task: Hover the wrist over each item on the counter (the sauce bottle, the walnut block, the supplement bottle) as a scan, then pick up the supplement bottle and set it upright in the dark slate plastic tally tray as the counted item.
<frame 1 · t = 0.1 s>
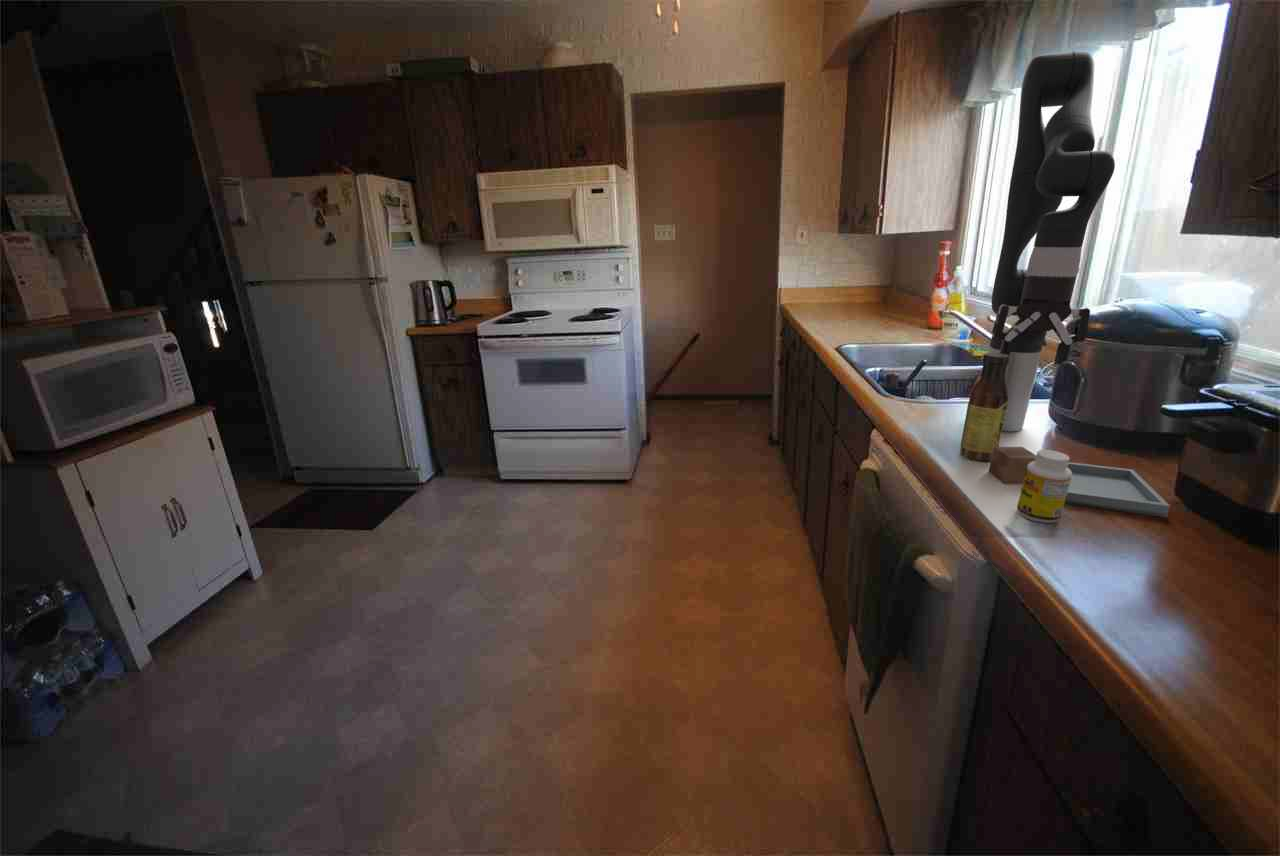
hand: (1031, 362, 106), 17 cm above the table, tool pointing down, fingers open, 8 cm apart
sauce bottle: (976, 456, 108), on the table
supplement bottle: (1036, 516, 86), on the table
walnut block: (1010, 478, 99), on the table
tally tray: (1094, 490, 93), on the table
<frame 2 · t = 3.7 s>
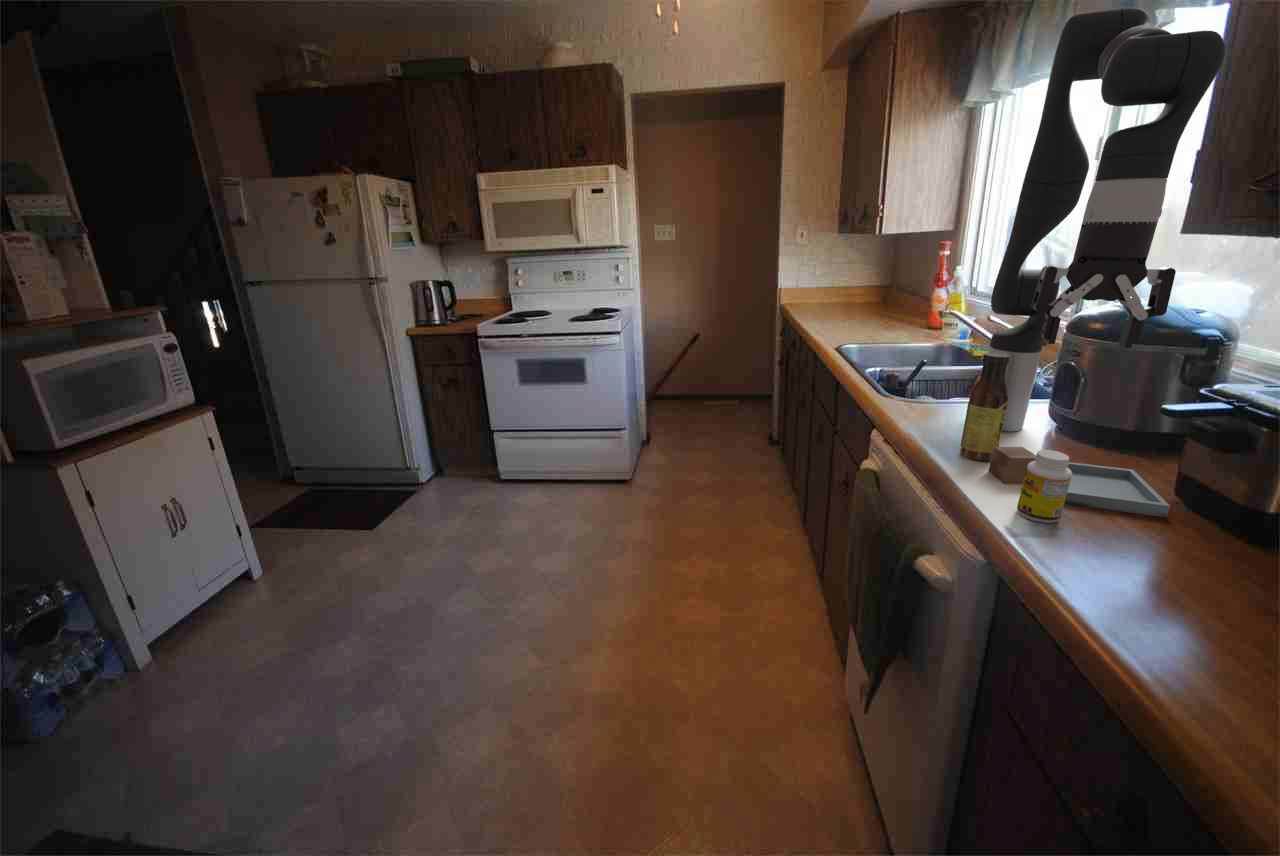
hand: (1085, 345, 77), 27 cm above the table, tool pointing down, fingers open, 8 cm apart
nothing on the table moved.
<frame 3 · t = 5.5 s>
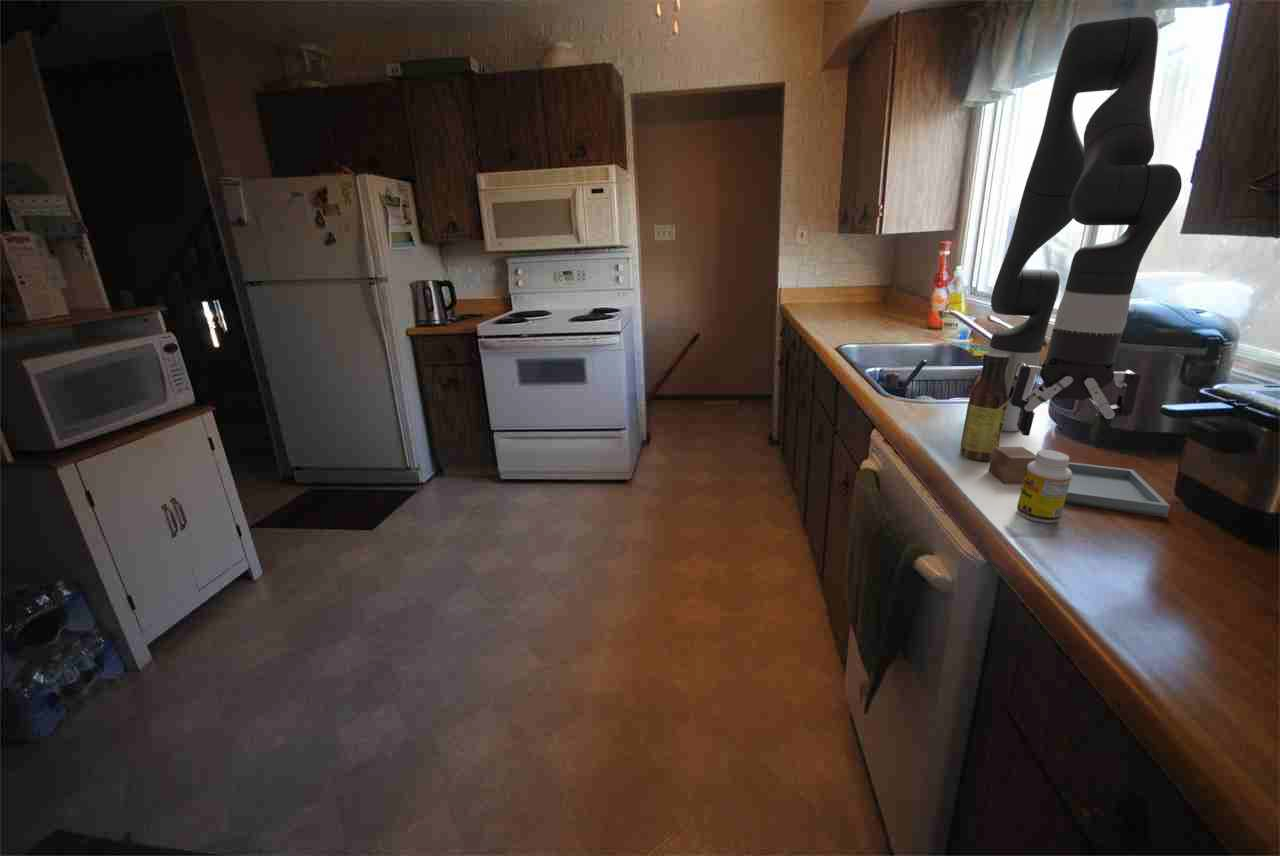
hand: (1058, 437, 81), 13 cm above the table, tool pointing down, fingers open, 8 cm apart
nothing on the table moved.
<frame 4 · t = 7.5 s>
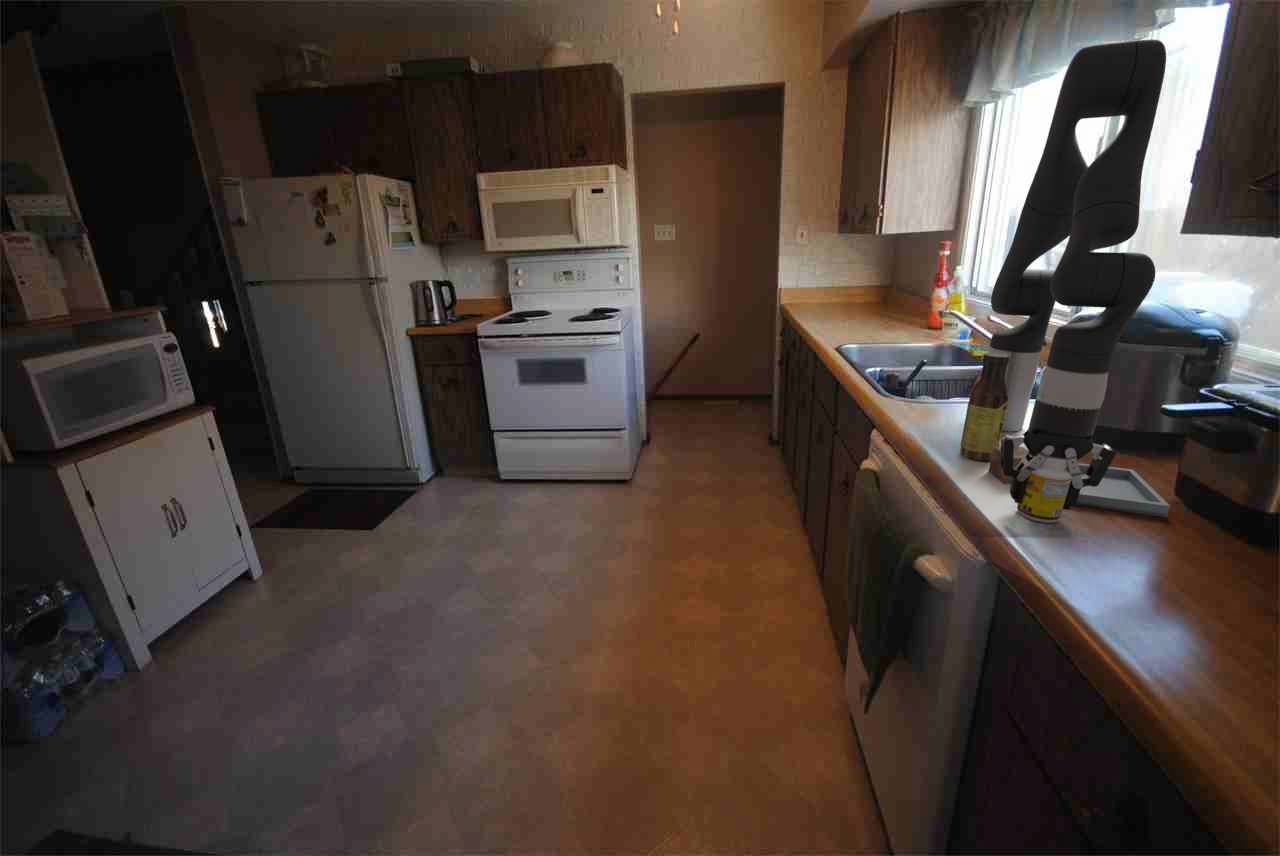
hand: (1040, 503, 85), 2 cm above the table, tool pointing down, fingers closed on supplement bottle, 5 cm apart
supplement bottle: (1036, 516, 86), on the table, touching gripper
everything else where it was.
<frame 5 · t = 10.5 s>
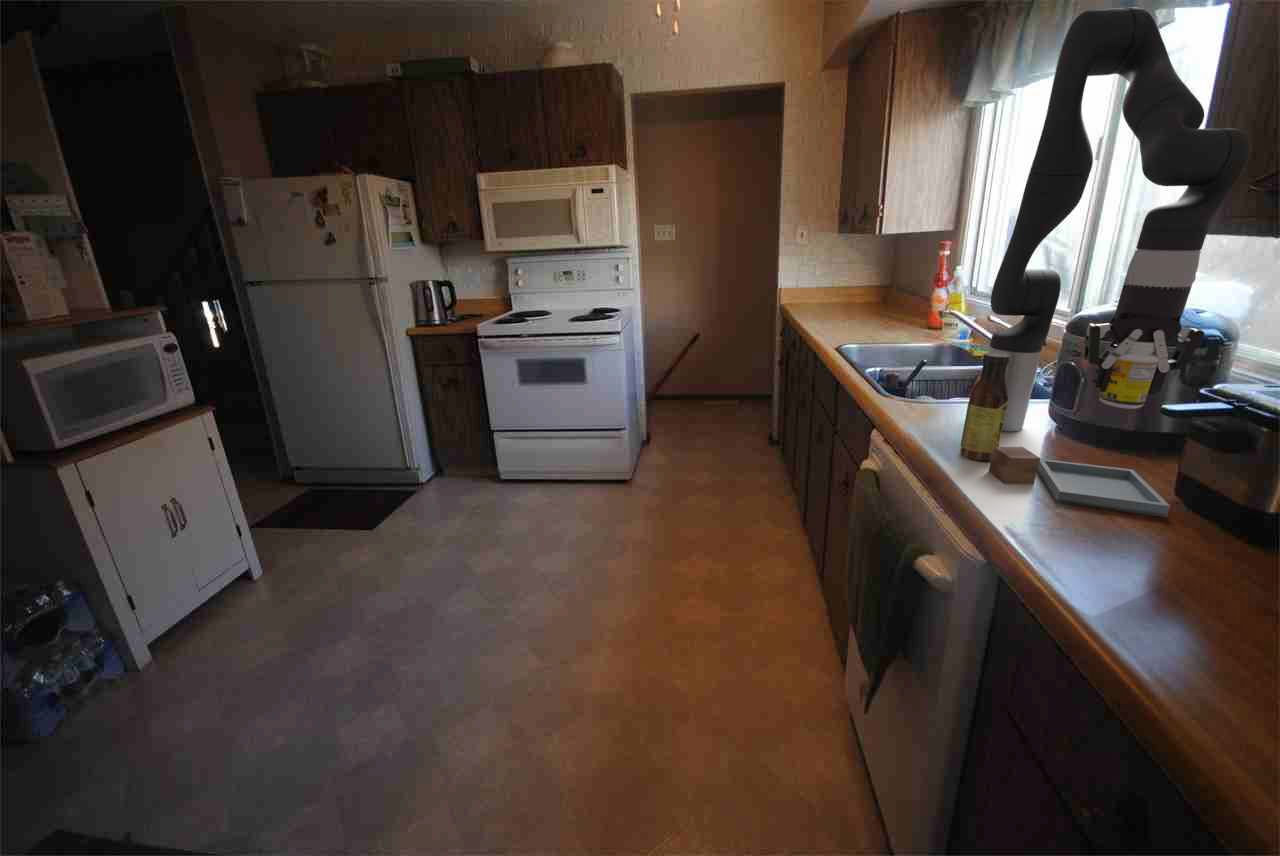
hand: (1123, 391, 88), 17 cm above the table, tool pointing down, fingers closed on supplement bottle, 5 cm apart
supplement bottle: (1119, 405, 88), point 15 cm above the table, touching gripper
everything else where it was.
when the fingers open (4 cm above the table, at t = 13.9 s): supplement bottle drops 1 cm, resting on tally tray.
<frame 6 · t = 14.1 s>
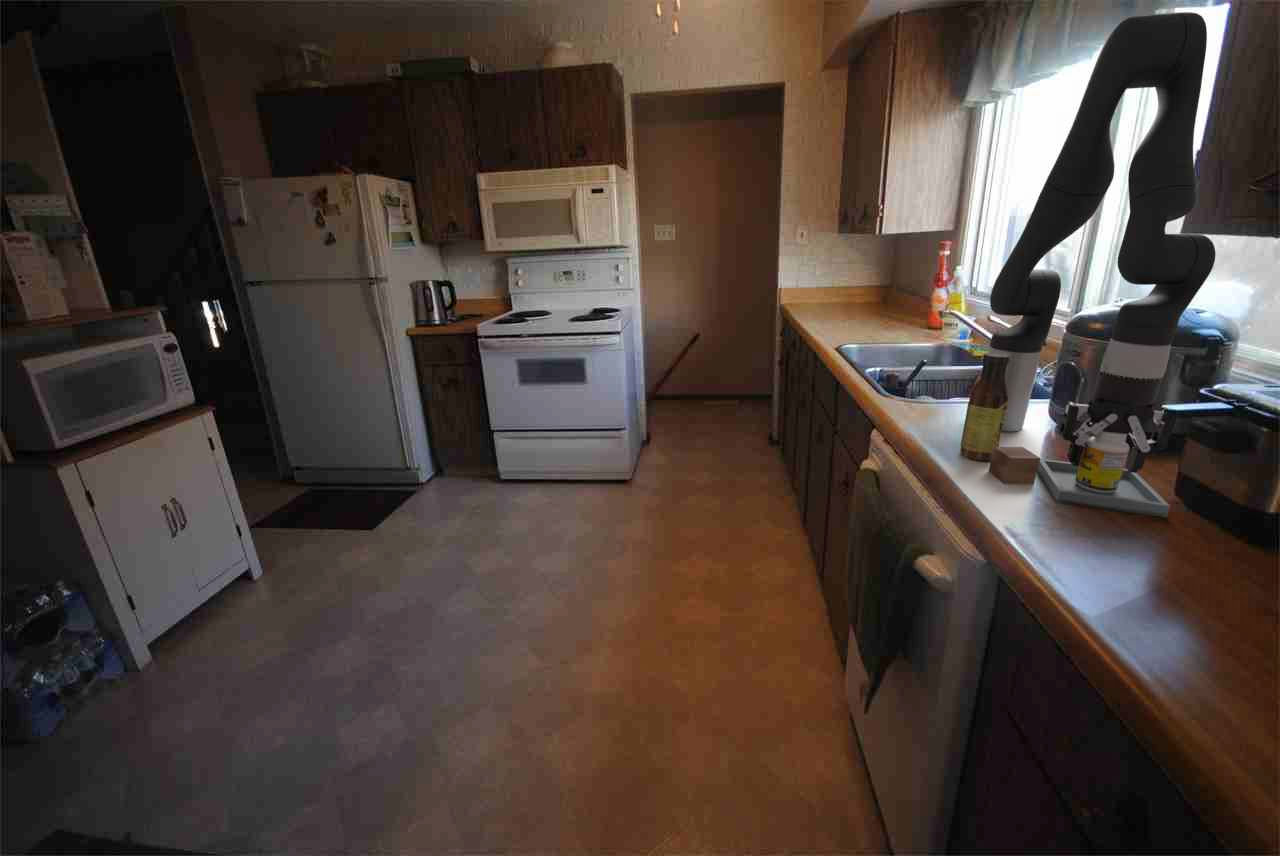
hand: (1101, 467, 92), 4 cm above the table, tool pointing down, fingers open, 7 cm apart
supplement bottle: (1094, 488, 93), resting on tally tray
everything else where it was.
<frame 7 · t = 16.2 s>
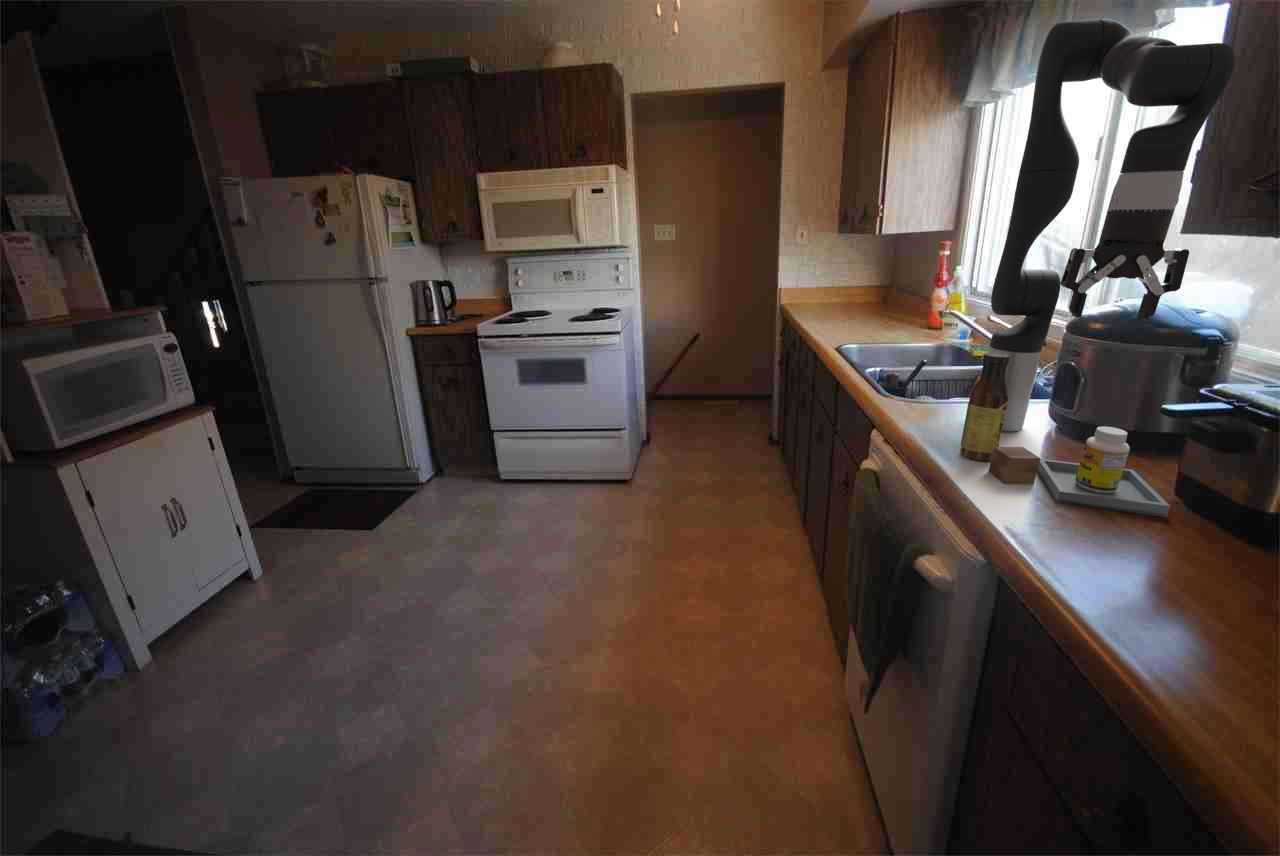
hand: (1108, 317, 87), 28 cm above the table, tool pointing down, fingers open, 8 cm apart
nothing on the table moved.
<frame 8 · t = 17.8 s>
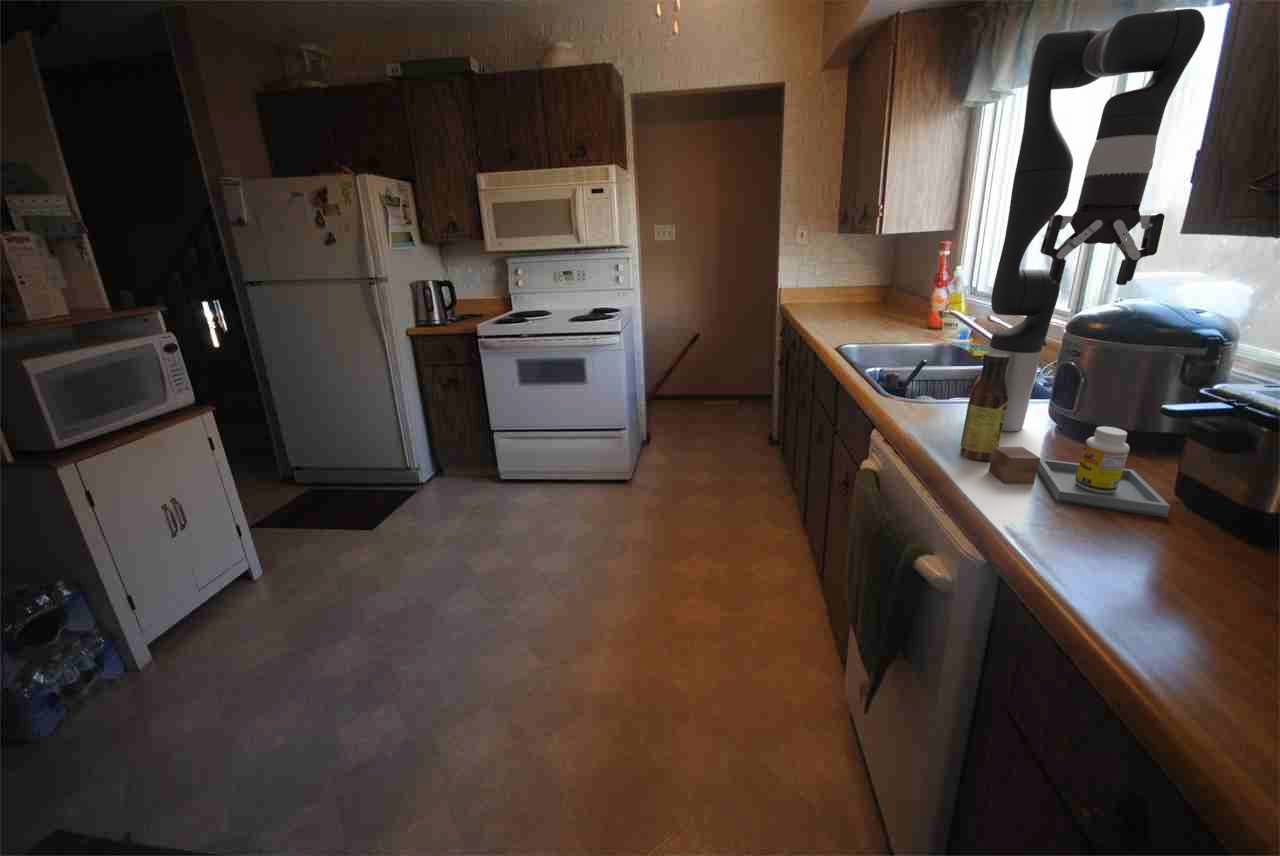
hand: (1087, 284, 89), 33 cm above the table, tool pointing down, fingers open, 8 cm apart
nothing on the table moved.
at the end: supplement bottle inside the target area on the tally tray (0.1 cm from its centre), point 0.4 cm above the tally tray's base; supplement bottle tilted 0°; the gripper is holding nothing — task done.
